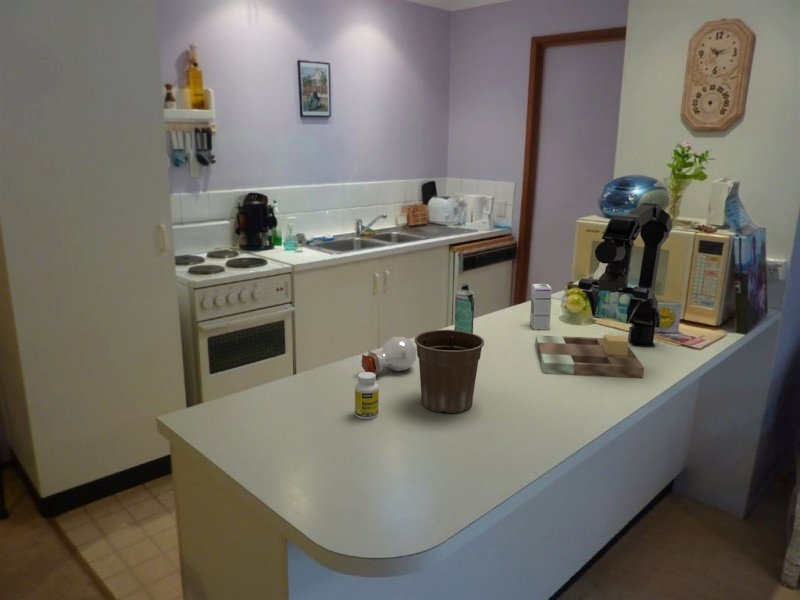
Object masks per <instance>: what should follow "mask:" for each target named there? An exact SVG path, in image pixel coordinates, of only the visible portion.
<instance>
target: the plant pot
mask: <svg viewBox="0 0 800 600" xmlns="http://www.w3.org/2000/svg"><path fill="white" fill-rule="evenodd" d="M413 339H414V343H415V345H416V357H417V358H418V364H419V365H418V366H419V376H420V377H419V379H420V381H419V382H420V395H421V396H420V400H421V405H422V406H424V407H425V408H426V409H428V410H430V411H433V412H435V413H436V412H437V413H441V412H446V413H448V414H456V413H461V412H466V411H468V410H470V408H471V407H472V406H473V401H474V394H475V386H476V379H477V372H478V368H479V367H478V365H479V361H480V359H481V355H482V348H483V347H484V345H485V340H484V338H483V337H481V336H480V335H477V334H475V333H474V332H473V333H469V332H464V331H458V330H454V329H434V330H428V331H423V332H421V333H418V334H417V335H416V336H415V337H414V338H413Z"/></svg>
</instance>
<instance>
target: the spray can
mask: <svg viewBox="0 0 800 600" xmlns="http://www.w3.org/2000/svg"><path fill="white" fill-rule="evenodd" d="M454 301H455V302H454V303H455V305H454V329H453V330H458V331H464V332H469V333H473V334H474V314H475V313H474V312H475V292H474V291H472V290H471V288H470V287H469V284H466V283H463V284H462V285H461V288H460V289H459V290H457V291H456V292H455V300H454Z"/></svg>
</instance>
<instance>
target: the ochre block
mask: <svg viewBox="0 0 800 600" xmlns="http://www.w3.org/2000/svg"><path fill="white" fill-rule="evenodd" d="M603 338H604V343H603V349H604V350H605V352H606V354H610V355H627V352H628V346H629V342H630V341H629V339H628V338H627V337H626V336H625V335H620V334H616V335H615V334H604V335H603Z"/></svg>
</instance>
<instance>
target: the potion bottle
mask: <svg viewBox="0 0 800 600" xmlns="http://www.w3.org/2000/svg"><path fill="white" fill-rule="evenodd" d="M416 357H417V347H415V345H414V344H413V342H412V340H411V339H408V338H407V337H405V336H392V337H391V338H390V339H388V340H386V341H385V343H384V345H383V347H382V350H381V351H378V352H373V351H371V350H368V352H367V355H365V354H364V353H362V355H361V367H362V368H363V371H364V372H372V373H374V374H375V375H376V376H378V374H379V373H381V372H382V371H383V369H384V368H386V367H387V368H389V369H390V370H392V371H393V372H405V371H406V370H408V369H410V368H412V367H413V365H414V364H415V361H416V359H417V358H416Z"/></svg>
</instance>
